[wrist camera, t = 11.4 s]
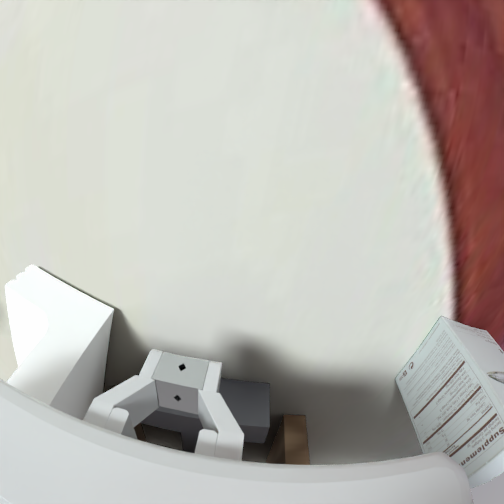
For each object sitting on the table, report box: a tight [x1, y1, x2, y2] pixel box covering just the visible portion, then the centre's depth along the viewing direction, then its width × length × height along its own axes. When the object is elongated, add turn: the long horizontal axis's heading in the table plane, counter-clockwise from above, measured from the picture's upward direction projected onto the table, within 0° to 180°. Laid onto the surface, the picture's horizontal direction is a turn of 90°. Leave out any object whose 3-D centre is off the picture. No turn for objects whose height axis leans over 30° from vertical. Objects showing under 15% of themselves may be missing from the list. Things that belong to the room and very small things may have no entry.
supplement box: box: [395, 316, 504, 489], centre depth 15 cm, size 7×7×13 cm
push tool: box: [140, 378, 270, 453], centre depth 24 cm, size 10×20×4 cm, turn 173°
